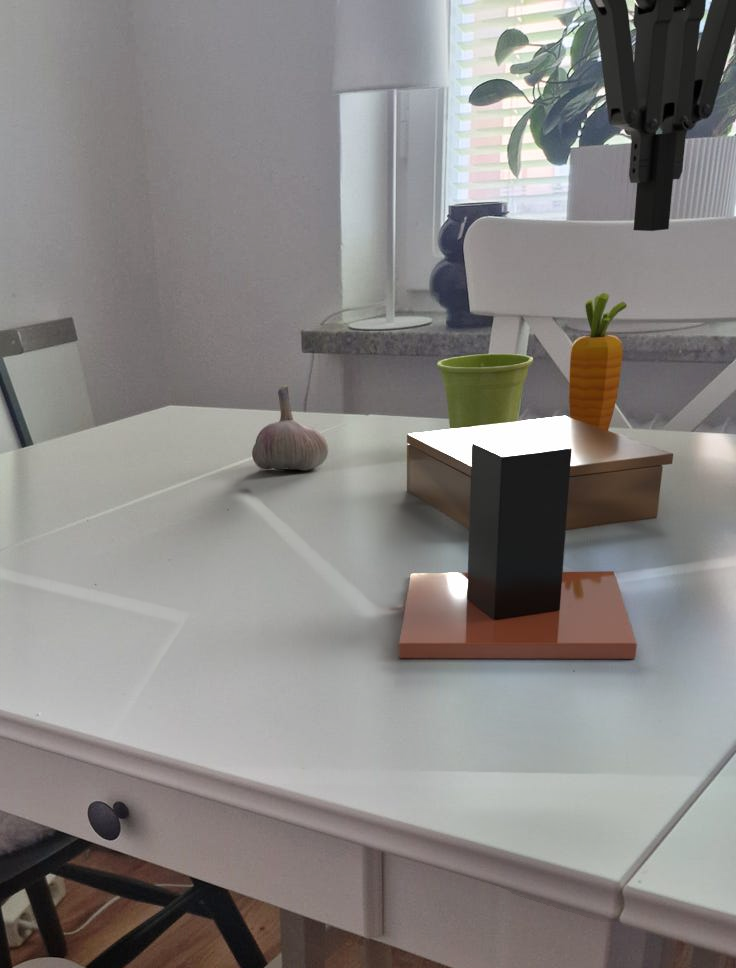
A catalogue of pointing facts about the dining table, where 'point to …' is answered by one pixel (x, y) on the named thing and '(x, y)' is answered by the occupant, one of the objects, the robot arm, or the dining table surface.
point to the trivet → (516, 622)
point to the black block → (517, 525)
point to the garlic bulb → (289, 442)
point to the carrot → (595, 367)
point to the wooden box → (587, 498)
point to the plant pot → (484, 388)
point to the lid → (587, 442)
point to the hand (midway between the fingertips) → (650, 229)
